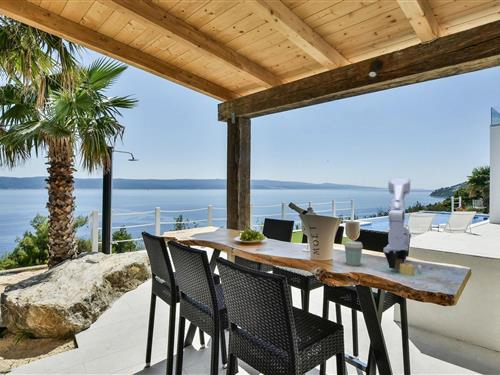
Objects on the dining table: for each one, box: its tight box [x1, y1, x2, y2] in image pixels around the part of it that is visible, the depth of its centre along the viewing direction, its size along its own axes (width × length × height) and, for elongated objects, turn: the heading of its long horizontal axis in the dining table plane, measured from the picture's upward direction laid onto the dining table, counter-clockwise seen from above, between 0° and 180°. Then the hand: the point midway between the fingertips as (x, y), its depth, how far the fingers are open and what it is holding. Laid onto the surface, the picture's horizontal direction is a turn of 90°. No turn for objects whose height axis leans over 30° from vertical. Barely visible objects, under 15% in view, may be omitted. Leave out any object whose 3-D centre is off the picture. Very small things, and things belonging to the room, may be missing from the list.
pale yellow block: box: [400, 262, 415, 276], centre depth 130 cm, size 6×5×4 cm
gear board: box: [368, 263, 437, 281], centre depth 135 cm, size 22×16×5 cm
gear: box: [394, 258, 403, 270], centre depth 135 cm, size 6×5×4 cm
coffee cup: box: [343, 240, 364, 267], centre depth 146 cm, size 8×8×12 cm
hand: (395, 267), depth 135 cm, fingers closed on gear, 5 cm apart
